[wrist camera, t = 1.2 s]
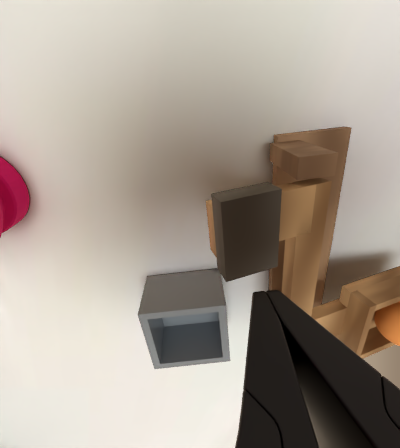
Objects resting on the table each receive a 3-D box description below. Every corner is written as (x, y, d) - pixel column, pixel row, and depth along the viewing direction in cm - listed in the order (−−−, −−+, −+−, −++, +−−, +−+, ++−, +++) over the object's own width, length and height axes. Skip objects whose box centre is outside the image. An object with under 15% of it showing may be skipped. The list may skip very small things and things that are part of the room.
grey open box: (219, 268, 22) (226, 305, 18) (223, 319, 25) (230, 360, 21) (147, 276, 22) (137, 314, 18) (160, 326, 25) (154, 369, 21)
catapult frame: (344, 126, 17) (410, 136, 12) (315, 310, 25) (346, 362, 20) (266, 135, 17) (299, 149, 12) (262, 316, 25) (281, 369, 20)
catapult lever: (441, 140, 16) (495, 145, 14) (382, 315, 23) (410, 337, 21) (204, 188, 12) (224, 205, 10) (223, 378, 19) (237, 413, 17)
